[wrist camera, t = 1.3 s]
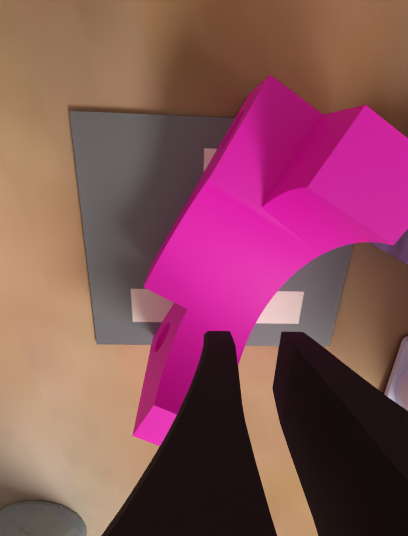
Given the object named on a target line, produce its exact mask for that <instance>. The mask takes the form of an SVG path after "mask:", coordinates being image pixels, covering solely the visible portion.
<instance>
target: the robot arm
mask: <svg viewBox="0 0 408 536" xmlns="http://www.w3.org/2000/svg"><path fill="white" fill-rule="evenodd" d="M273 393H274V398H275V403H276V407H277V412H278V416H279V420H280V424H281V427H282V430H283V433H284V436H285V439H286V442H287V445H288V448H289V451H290V454H291V457H292V459H293V462H294V465H295V468H296V471H297V474H298V477H299V479H300V482H301V485H302V488H303V491H304V494H305V496H306V499H307V502H308V505H309V508H310V511H311V514H312V516H313V519H314V523H315V526H316V529H317V532H318V535H319V536H408V336H406V337H405V338H404V339H403V340H402V342H401V345H400V348H399V351H398V354H397V357H396V360H395V363H394V366H393V369H392V372H391V375H390V378H389V381H388V384H387V387H386V390H385V393H384V394H383V393H382V392H380V391H379V390H378V389H376V388H375V387H374V386H372V385H371V384H370V383H368V382H367V381H366V380H364V379H363V378H362V377H360V376H359V375H358V374H357V373H355V372H354V371H353V370H351V369H350V368H349V367H348V366H346V365H345V364H344V363H342V362H341V361H340V360H339V359H337V358H336V357H335V356H334V355H332V354H331V353H330V352H329V351H327V350H326V349H325V348H324V347H322V346H321V345H320V344H319V343H317V342H316V341H315V340H313V339H312V338H311V337H310V336H308V335H307V334H305V333H304V332H281V338H280V344H279V351H278V357H277V363H276V370H275V376H274V383H273ZM102 536H277V534H276V531H275V528H274V524H273V521H272V518H271V515H270V511H269V508H268V504H267V501H266V497H265V494H264V490H263V486H262V483H261V479H260V476H259V472H258V469H257V465H256V462H255V458H254V454H253V450H252V446H251V442H250V439H249V435H248V431H247V427H246V423H245V418H244V413H243V407H242V399H241V390H240V381H239V372H238V363H237V354H236V345H235V343H234V340H233V337H232V335H231V332H230V331H207V332H206V333H205V334H204V342H203V349H202V353H201V357H200V360H199V363H198V366H197V369H196V372H195V374H194V377H193V380H192V383H191V385H190V387H189V390H188V392H187V394H186V396H185V398H184V401H183V403H182V405H181V407H180V409H179V412H178V414H177V416H176V418H175V419H174V421H173V423H172V425H171V427H170V429H169V431H168V433H167V435H166V436H165V438H164V440H163V442H162V443H161V445H160V447H159V449H158V451H157V452H156V454H155V456H154V457H153V459H152V461H151V462H150V464H149V465H148V467H147V469H146V470H145V472H144V473H143V475H142V477H141V478H140V480H139V481H138V483H137V485H136V486H135V488H134V489H133V491H132V492H131V494H130V495H129V497H128V499H127V500H126V502H125V503H124V504H123V506H122V507H121V509H120V510H119V512H118V513H117V515H116V516H115V517H114V519H113V520H112V522H111V523H110V524H109V526H108V527H107V529H106V530H105V531H104V533H103V534H102Z"/></svg>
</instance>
